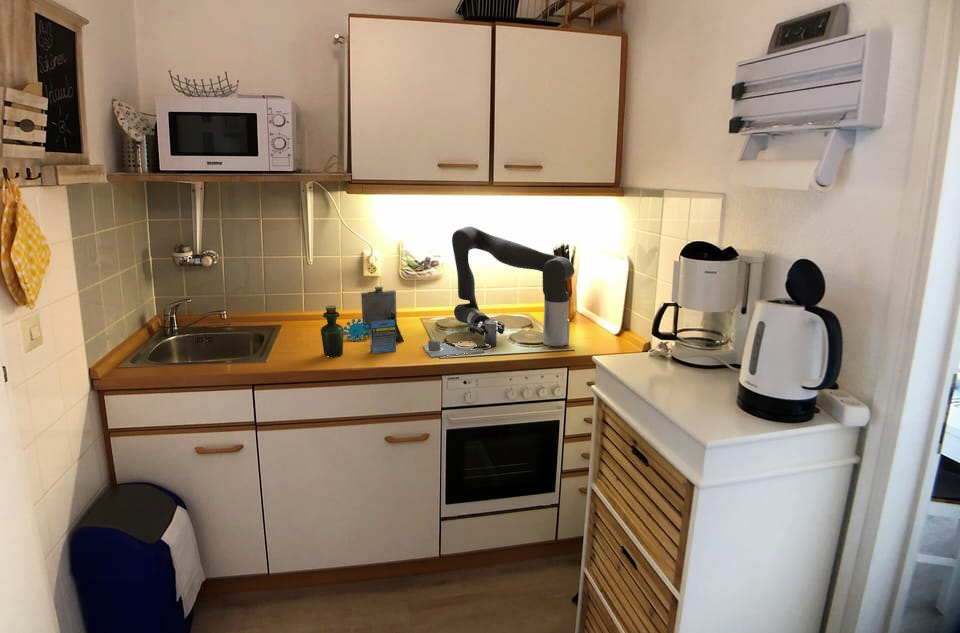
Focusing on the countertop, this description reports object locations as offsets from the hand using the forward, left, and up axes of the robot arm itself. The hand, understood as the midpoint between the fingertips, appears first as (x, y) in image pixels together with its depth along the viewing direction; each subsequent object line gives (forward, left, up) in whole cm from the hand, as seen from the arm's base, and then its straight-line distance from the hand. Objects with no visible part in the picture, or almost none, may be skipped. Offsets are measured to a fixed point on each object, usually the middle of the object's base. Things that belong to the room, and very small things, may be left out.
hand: (492, 332), depth 237 cm
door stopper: (+35, -20, -6) cm, 41 cm away
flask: (+36, -38, -6) cm, 53 cm away
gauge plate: (+15, -2, -6) cm, 16 cm away
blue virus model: (+47, -27, -6) cm, 54 cm away
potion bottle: (+58, -9, -6) cm, 59 cm away
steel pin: (0, -2, -6) cm, 6 cm away
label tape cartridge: (+40, -8, -6) cm, 41 cm away
